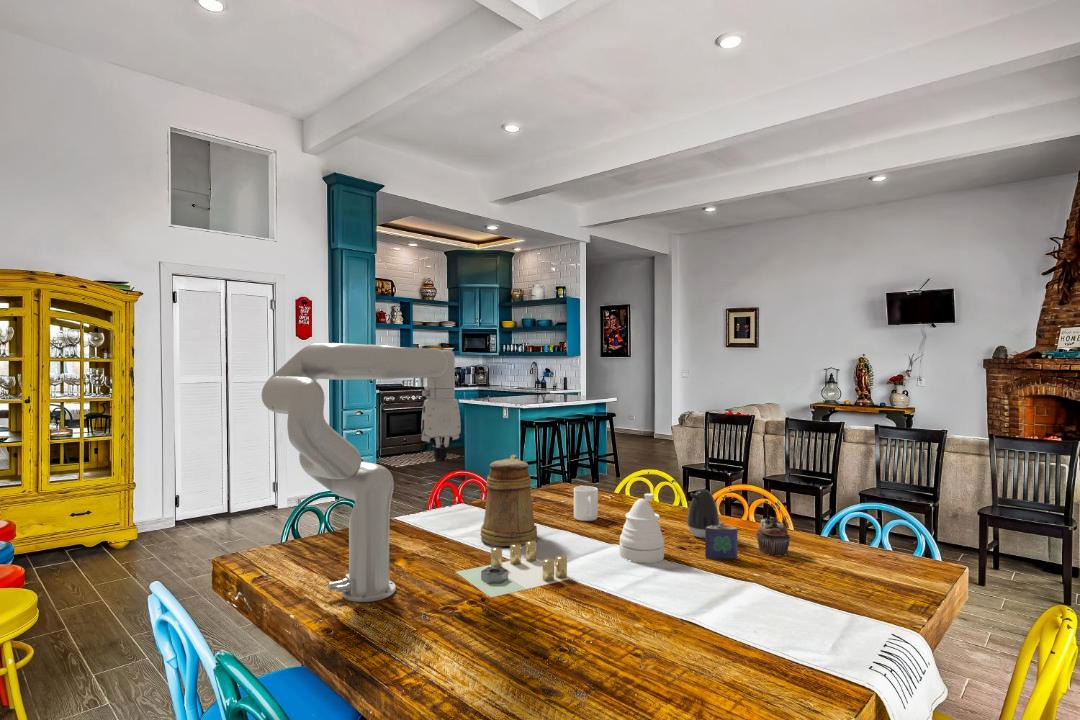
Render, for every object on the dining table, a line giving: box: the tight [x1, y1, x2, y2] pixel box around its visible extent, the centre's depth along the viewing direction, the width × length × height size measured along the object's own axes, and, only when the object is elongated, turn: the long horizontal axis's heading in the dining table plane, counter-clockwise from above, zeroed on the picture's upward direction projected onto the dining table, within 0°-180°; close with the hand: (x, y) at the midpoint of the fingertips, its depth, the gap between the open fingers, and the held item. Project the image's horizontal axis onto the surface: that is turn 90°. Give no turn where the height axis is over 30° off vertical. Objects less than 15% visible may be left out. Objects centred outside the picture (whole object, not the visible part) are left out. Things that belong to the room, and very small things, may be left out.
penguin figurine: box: [686, 488, 721, 539], centre depth 197 cm, size 10×10×15 cm
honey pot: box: [619, 493, 665, 563], centre depth 178 cm, size 13×13×18 cm
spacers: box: [490, 540, 568, 582], centre depth 162 cm, size 14×18×5 cm
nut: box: [481, 567, 508, 584], centre depth 156 cm, size 6×7×2 cm
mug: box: [573, 485, 599, 522], centre depth 217 cm, size 9×12×11 cm
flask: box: [704, 521, 739, 561], centre depth 175 cm, size 9×3×11 cm, turn 88°
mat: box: [455, 557, 573, 598], centre depth 159 cm, size 24×20×1 cm
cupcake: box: [755, 517, 791, 556], centre depth 182 cm, size 10×10×10 cm
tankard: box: [480, 454, 538, 547], centre depth 195 cm, size 18×24×25 cm
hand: (440, 461), depth 167 cm, fingers closed
